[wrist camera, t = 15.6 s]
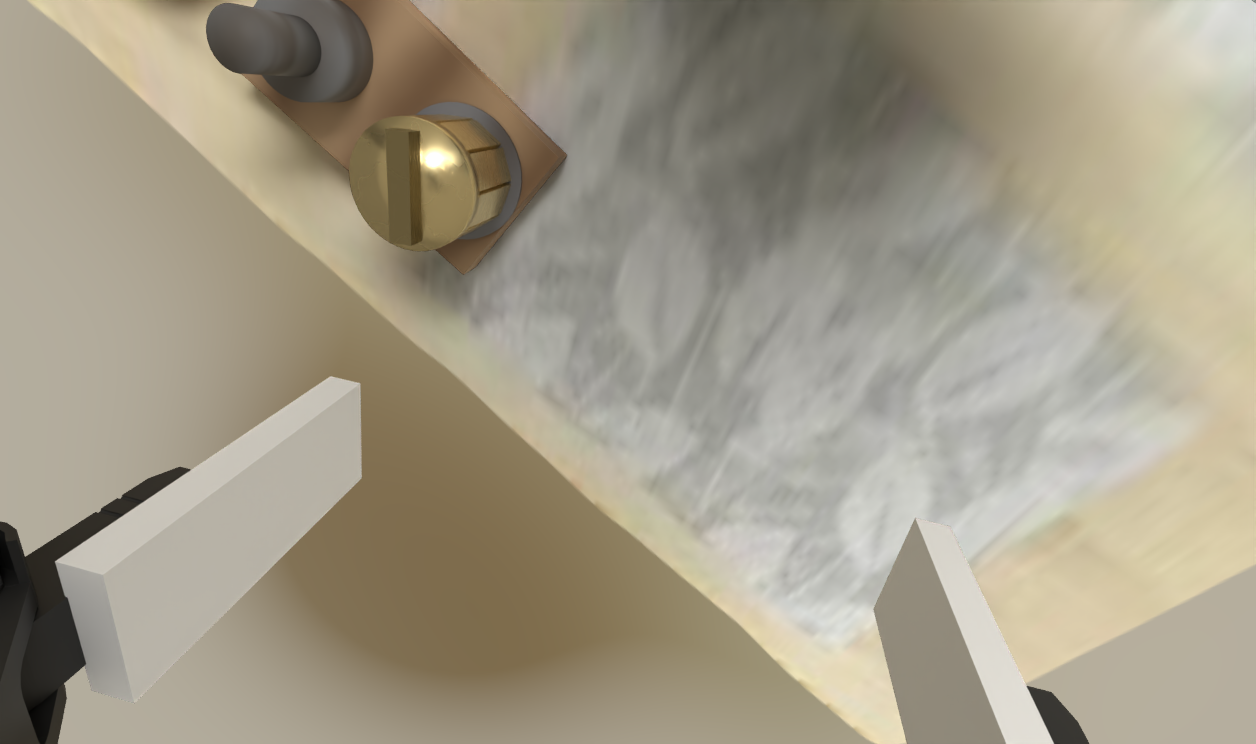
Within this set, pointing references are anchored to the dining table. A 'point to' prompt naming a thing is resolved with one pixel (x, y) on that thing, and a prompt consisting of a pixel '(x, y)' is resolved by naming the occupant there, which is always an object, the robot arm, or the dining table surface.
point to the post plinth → (378, 86)
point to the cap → (428, 179)
